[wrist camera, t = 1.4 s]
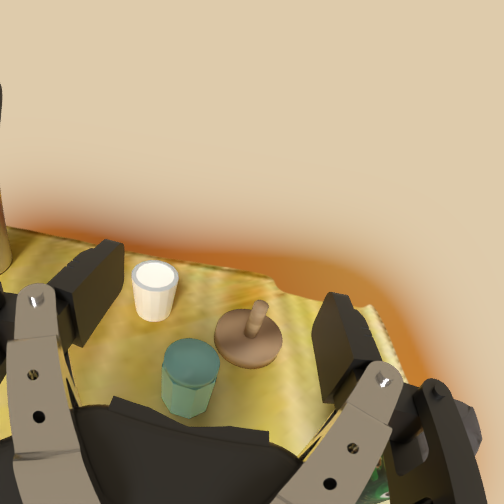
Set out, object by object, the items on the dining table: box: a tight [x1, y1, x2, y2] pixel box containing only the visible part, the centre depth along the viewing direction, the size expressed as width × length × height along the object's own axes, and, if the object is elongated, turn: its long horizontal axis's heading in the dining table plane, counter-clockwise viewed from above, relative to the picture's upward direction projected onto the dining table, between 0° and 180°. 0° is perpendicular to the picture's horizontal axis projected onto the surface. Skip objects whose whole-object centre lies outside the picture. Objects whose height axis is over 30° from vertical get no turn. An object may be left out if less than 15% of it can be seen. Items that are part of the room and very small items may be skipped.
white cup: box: [132, 260, 179, 322], centre depth 40 cm, size 7×7×7 cm
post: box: [214, 300, 282, 369], centre depth 39 cm, size 10×10×8 cm
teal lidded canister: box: [161, 338, 220, 419], centre depth 29 cm, size 6×6×9 cm
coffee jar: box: [355, 399, 482, 504], centre depth 19 cm, size 10×8×19 cm
